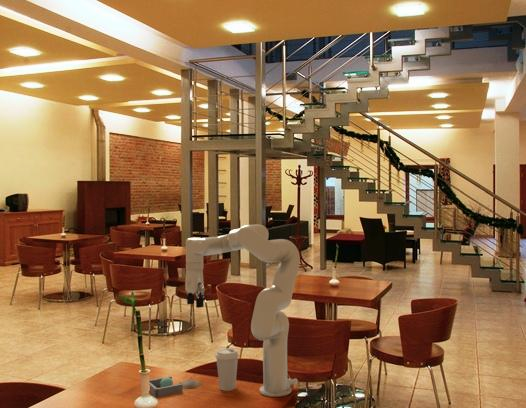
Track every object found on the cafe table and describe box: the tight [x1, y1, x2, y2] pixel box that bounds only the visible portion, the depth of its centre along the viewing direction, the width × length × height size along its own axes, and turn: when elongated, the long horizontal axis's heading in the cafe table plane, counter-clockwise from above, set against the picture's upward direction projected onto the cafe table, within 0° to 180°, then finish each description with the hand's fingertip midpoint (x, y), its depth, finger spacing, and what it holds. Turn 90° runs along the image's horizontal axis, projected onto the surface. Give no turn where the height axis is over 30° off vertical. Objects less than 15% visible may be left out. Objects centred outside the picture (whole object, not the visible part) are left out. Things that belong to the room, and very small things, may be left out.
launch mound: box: [179, 378, 203, 390], centre depth 223 cm, size 14×14×14 cm
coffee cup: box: [214, 347, 240, 392], centre depth 218 cm, size 10×10×15 cm
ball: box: [159, 376, 174, 388], centre depth 217 cm, size 5×5×5 cm
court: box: [148, 375, 183, 398], centre depth 217 cm, size 11×12×3 cm
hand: (195, 305), depth 235 cm, fingers open, 9 cm apart
